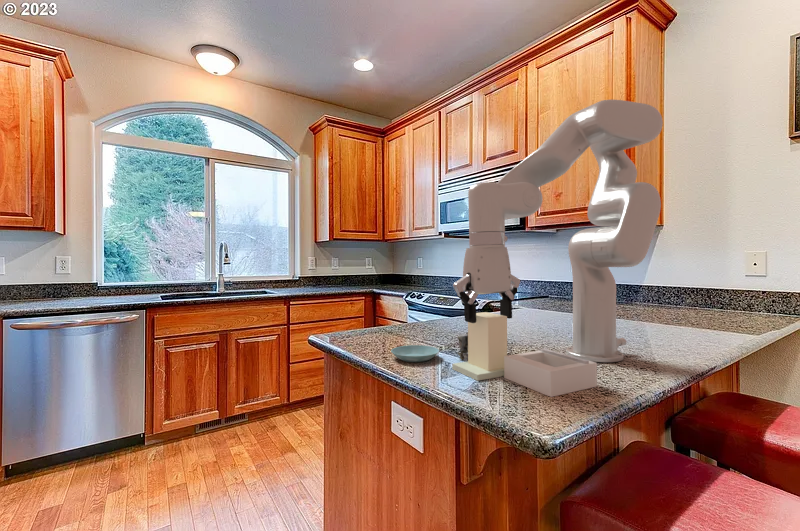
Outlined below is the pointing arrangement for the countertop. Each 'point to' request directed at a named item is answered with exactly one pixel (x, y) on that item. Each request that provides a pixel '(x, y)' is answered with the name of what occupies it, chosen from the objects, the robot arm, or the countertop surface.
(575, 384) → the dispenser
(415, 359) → the saucer
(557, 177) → the robot arm
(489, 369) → the cream rectangular block
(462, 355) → the foil
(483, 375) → the pad
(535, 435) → the countertop surface
